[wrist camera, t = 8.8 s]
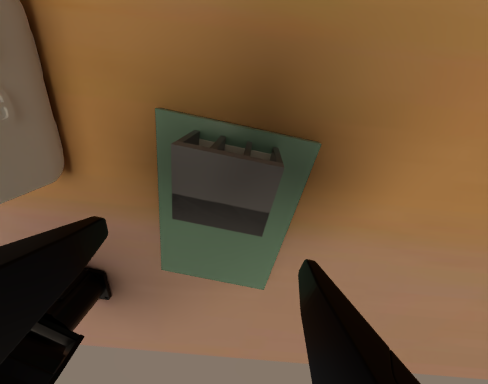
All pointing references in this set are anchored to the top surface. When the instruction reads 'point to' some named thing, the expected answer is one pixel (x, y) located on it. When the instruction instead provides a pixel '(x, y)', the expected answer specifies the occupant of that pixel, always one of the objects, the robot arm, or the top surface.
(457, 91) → the top surface
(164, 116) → the header board
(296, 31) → the top surface
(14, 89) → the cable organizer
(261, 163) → the plug
